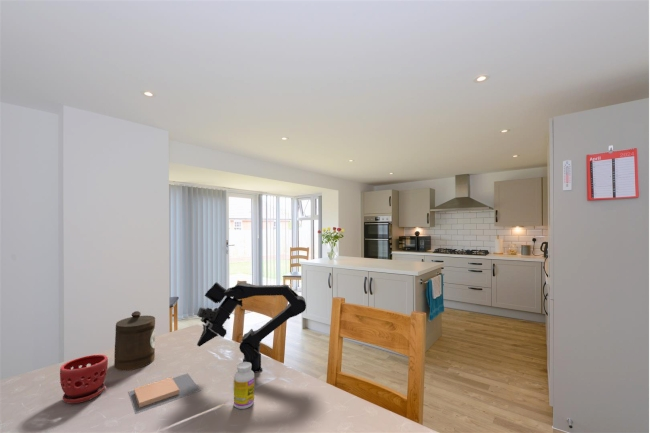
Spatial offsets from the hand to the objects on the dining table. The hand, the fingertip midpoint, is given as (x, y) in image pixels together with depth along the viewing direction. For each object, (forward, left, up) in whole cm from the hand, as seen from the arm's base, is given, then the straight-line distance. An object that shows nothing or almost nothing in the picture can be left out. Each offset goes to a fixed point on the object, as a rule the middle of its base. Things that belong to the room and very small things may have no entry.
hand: (198, 345), depth 114 cm
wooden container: (+20, -31, -14) cm, 40 cm away
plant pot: (+35, -11, -14) cm, 40 cm away
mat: (+11, +2, -14) cm, 18 cm away
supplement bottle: (-11, +24, -14) cm, 29 cm away
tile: (+8, +2, -12) cm, 14 cm away
